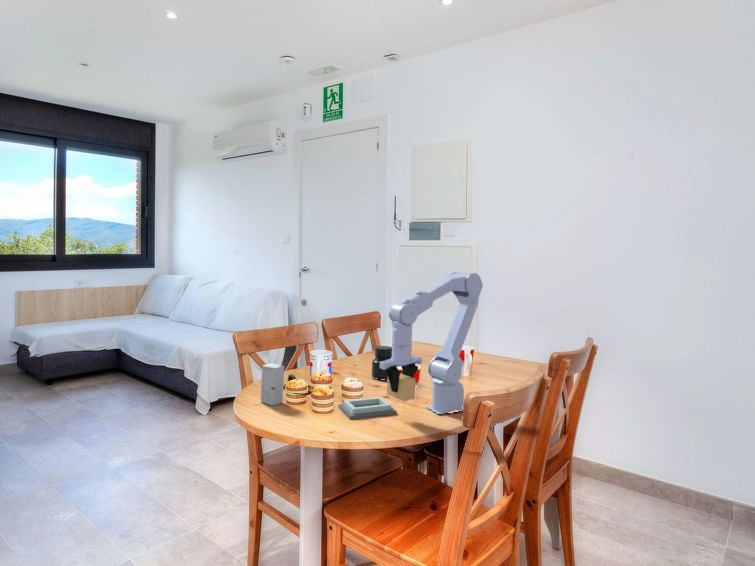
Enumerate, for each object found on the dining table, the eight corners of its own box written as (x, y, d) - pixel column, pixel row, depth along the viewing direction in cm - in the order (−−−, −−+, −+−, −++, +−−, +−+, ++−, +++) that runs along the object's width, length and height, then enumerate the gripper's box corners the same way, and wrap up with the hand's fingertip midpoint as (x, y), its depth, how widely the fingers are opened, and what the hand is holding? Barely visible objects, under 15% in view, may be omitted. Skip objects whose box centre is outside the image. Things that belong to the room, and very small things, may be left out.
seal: (319, 396, 166) (298, 385, 177) (321, 382, 166) (300, 372, 177) (295, 397, 160) (275, 386, 171) (297, 383, 160) (277, 373, 171)
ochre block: (397, 392, 145) (398, 372, 144) (414, 399, 138) (415, 378, 138) (386, 394, 142) (387, 374, 142) (403, 401, 136) (404, 380, 135)
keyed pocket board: (382, 403, 155) (382, 395, 155) (396, 413, 145) (396, 405, 145) (338, 407, 149) (338, 399, 149) (349, 419, 139) (350, 411, 139)
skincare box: (260, 402, 152) (260, 365, 152) (269, 399, 156) (270, 362, 156) (274, 406, 149) (275, 368, 149) (284, 402, 153) (284, 365, 153)
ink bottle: (399, 377, 187) (400, 347, 186) (386, 382, 180) (387, 351, 179) (379, 373, 193) (380, 344, 192) (366, 377, 186) (366, 347, 185)
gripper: (412, 340, 147) (410, 383, 148) (373, 344, 138) (372, 390, 139) (427, 344, 141) (425, 389, 142) (388, 348, 132) (387, 396, 133)
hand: (400, 390), depth 140 cm, fingers closed on ochre block, 4 cm apart
